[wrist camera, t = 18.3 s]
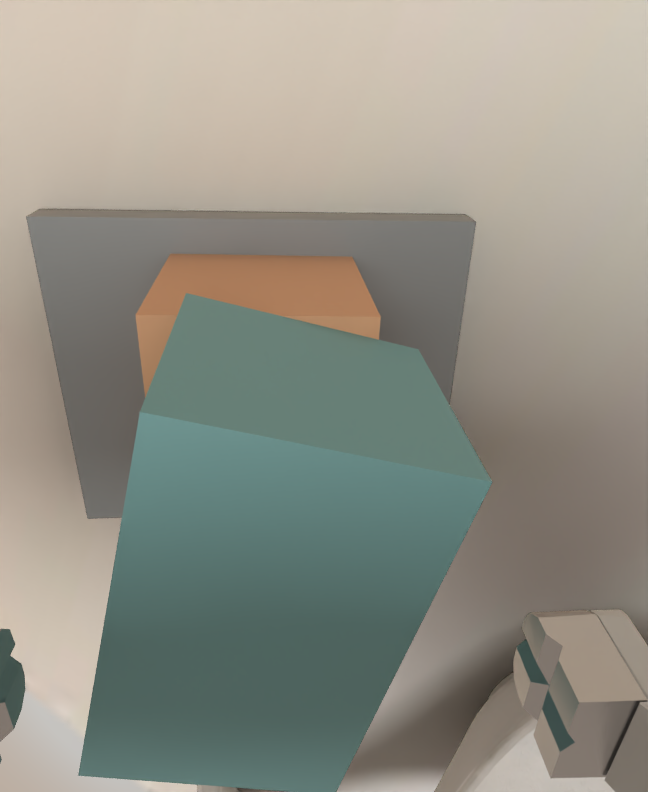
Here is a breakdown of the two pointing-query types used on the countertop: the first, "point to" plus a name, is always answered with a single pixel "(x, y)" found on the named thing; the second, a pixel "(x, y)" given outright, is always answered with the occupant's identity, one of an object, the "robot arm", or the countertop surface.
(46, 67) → the countertop surface
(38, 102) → the countertop surface
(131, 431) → the grey baseplate
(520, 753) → the spoon rest
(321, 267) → the terracotta brick
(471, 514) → the teal brick
